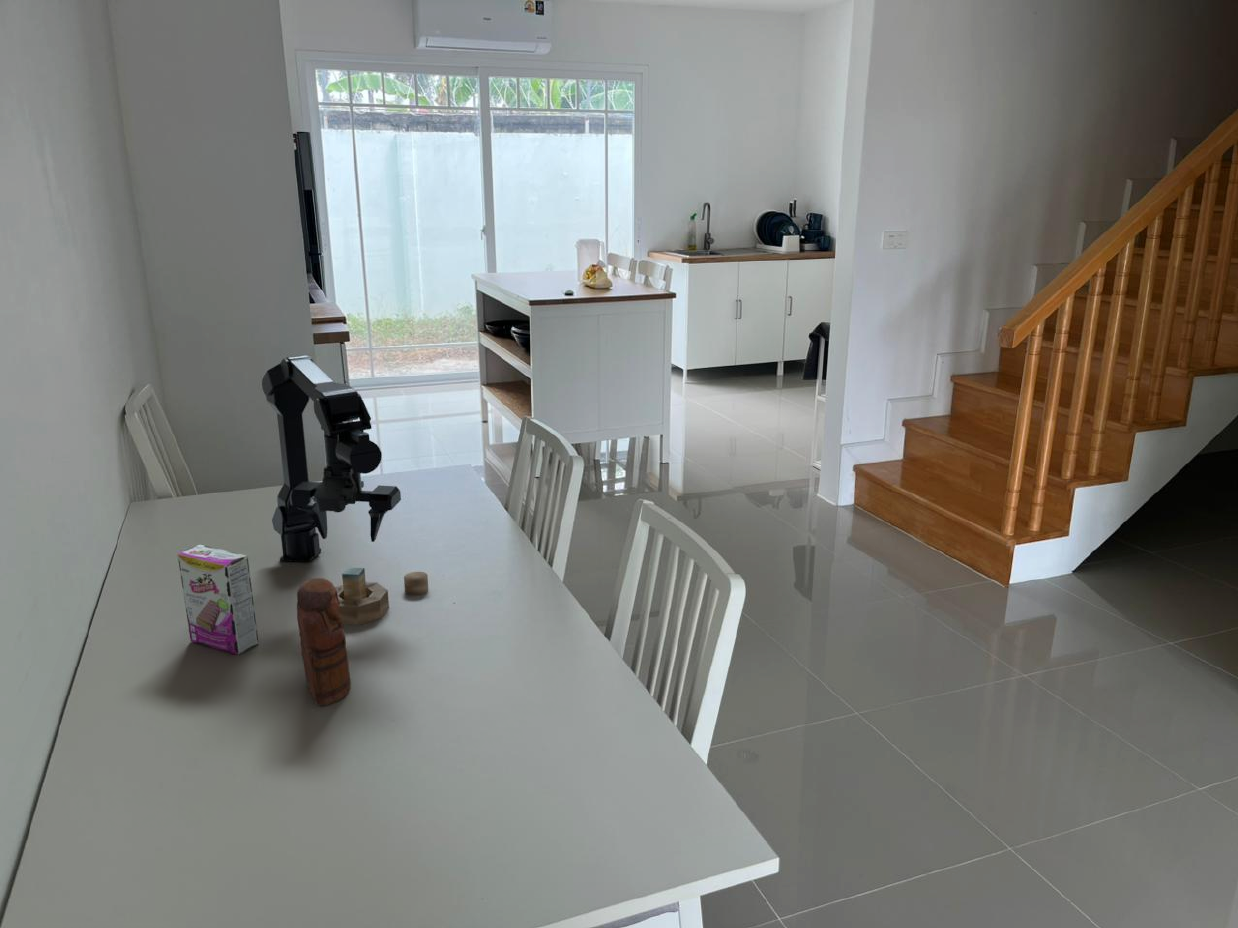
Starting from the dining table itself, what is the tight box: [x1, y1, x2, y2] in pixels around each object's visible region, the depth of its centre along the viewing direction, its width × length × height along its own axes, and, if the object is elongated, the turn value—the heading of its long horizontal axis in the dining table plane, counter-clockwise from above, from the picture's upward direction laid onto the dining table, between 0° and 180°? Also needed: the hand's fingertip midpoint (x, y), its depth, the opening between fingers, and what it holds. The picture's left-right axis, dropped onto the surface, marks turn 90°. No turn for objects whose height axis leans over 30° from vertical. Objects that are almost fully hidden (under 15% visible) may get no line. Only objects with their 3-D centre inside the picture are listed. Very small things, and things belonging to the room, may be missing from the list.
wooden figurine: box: [296, 577, 351, 706], centre depth 144 cm, size 12×6×18 cm, turn 26°
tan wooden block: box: [341, 566, 367, 601], centre depth 170 cm, size 3×3×8 cm
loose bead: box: [403, 571, 429, 596], centre depth 180 cm, size 4×4×3 cm
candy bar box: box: [177, 544, 259, 656], centre depth 157 cm, size 11×5×16 cm, turn 65°
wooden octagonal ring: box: [334, 581, 390, 626], centre depth 171 cm, size 10×10×4 cm
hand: (349, 539), depth 173 cm, fingers open, 9 cm apart
